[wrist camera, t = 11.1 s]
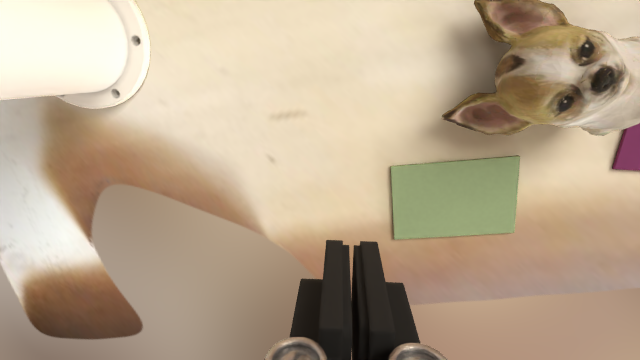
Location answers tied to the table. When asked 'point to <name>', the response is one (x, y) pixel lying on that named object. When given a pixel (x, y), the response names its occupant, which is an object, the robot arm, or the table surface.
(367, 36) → the table surface
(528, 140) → the table surface
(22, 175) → the table surface
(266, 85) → the table surface
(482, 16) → the ceramic sculpture
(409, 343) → the robot arm
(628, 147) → the plum cloth
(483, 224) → the sage cloth
